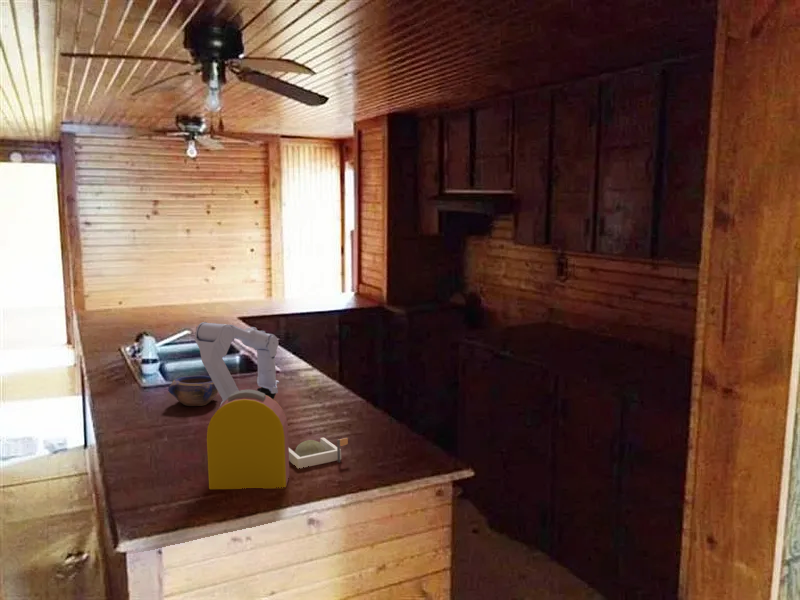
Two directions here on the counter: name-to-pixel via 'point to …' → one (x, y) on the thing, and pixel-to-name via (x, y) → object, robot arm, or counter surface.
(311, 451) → the sea urchin shell
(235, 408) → the yellow arched block
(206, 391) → the bowl
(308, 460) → the shallow white tray
